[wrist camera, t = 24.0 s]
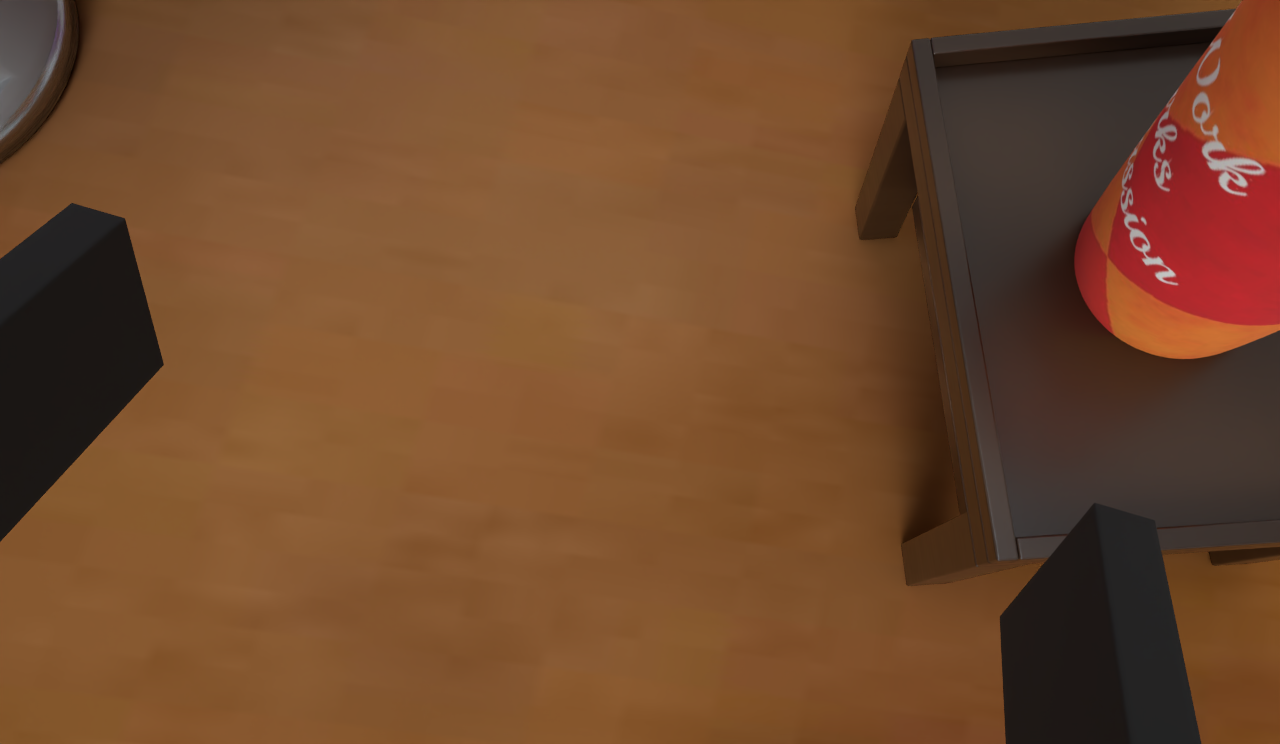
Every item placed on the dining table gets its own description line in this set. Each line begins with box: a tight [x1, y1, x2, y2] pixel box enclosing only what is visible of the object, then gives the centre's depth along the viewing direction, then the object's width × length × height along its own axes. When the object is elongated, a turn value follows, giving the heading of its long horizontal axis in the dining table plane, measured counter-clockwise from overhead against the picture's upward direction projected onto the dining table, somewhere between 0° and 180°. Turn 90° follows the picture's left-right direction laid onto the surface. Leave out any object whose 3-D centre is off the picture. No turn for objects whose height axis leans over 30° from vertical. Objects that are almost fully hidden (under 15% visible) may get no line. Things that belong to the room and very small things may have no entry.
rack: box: [855, 9, 1280, 586], centre depth 32 cm, size 16×13×12 cm
